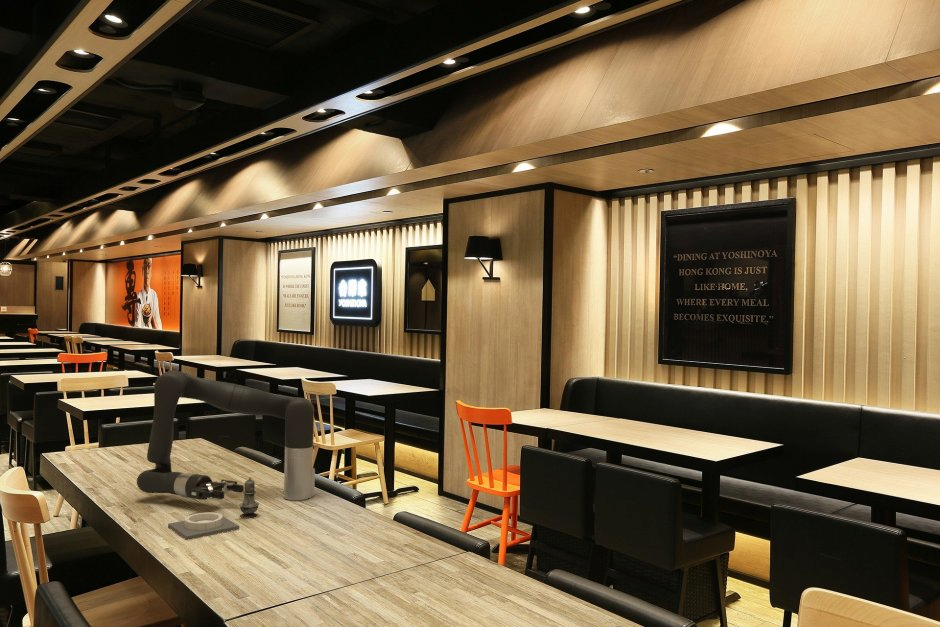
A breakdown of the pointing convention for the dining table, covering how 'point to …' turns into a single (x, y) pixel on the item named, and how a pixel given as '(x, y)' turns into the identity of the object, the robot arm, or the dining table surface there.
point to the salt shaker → (249, 500)
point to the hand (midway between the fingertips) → (233, 492)
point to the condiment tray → (203, 532)
